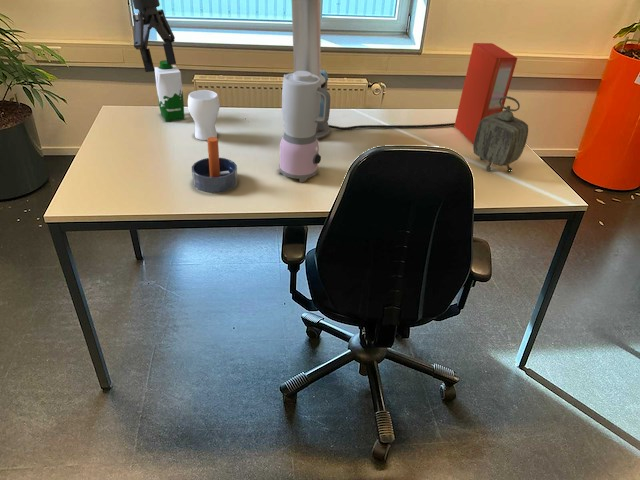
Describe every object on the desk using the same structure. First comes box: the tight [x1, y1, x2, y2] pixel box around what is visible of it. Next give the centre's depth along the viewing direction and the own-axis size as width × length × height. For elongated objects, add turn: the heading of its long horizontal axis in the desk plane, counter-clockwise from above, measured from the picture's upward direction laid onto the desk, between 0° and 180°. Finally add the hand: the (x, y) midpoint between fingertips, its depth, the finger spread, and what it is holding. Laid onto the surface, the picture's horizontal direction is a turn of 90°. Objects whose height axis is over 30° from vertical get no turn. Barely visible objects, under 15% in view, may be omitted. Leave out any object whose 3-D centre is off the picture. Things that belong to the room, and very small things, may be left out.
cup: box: [187, 89, 221, 141], centre depth 182 cm, size 11×11×15 cm
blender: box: [278, 71, 331, 183], centre depth 158 cm, size 16×12×32 cm
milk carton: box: [154, 59, 185, 122], centre depth 192 cm, size 9×9×20 cm
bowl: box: [191, 157, 239, 194], centre depth 158 cm, size 13×13×6 cm
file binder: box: [453, 42, 518, 145], centre depth 191 cm, size 8×17×32 cm, turn 13°
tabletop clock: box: [472, 95, 529, 173], centre depth 171 cm, size 14×9×25 cm, turn 44°
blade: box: [206, 137, 230, 177], centre depth 155 cm, size 9×4×14 cm, turn 113°
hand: (161, 67), depth 164 cm, fingers open, 13 cm apart
